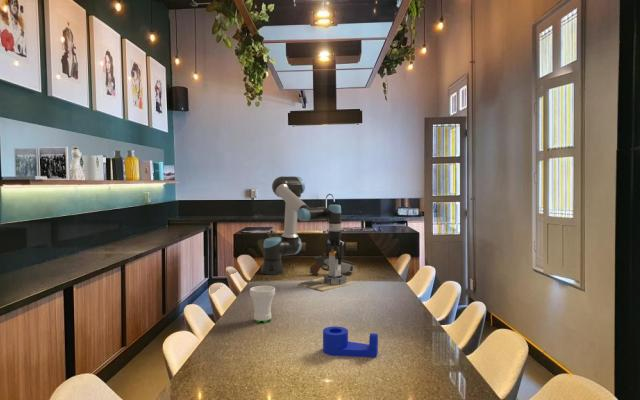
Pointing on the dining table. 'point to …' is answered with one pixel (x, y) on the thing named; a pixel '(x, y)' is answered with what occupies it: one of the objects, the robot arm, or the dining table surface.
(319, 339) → the dining table surface
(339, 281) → the grey octagonal ring
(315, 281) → the pad
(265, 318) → the cup
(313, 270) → the gun
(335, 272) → the block
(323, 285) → the board
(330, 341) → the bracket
